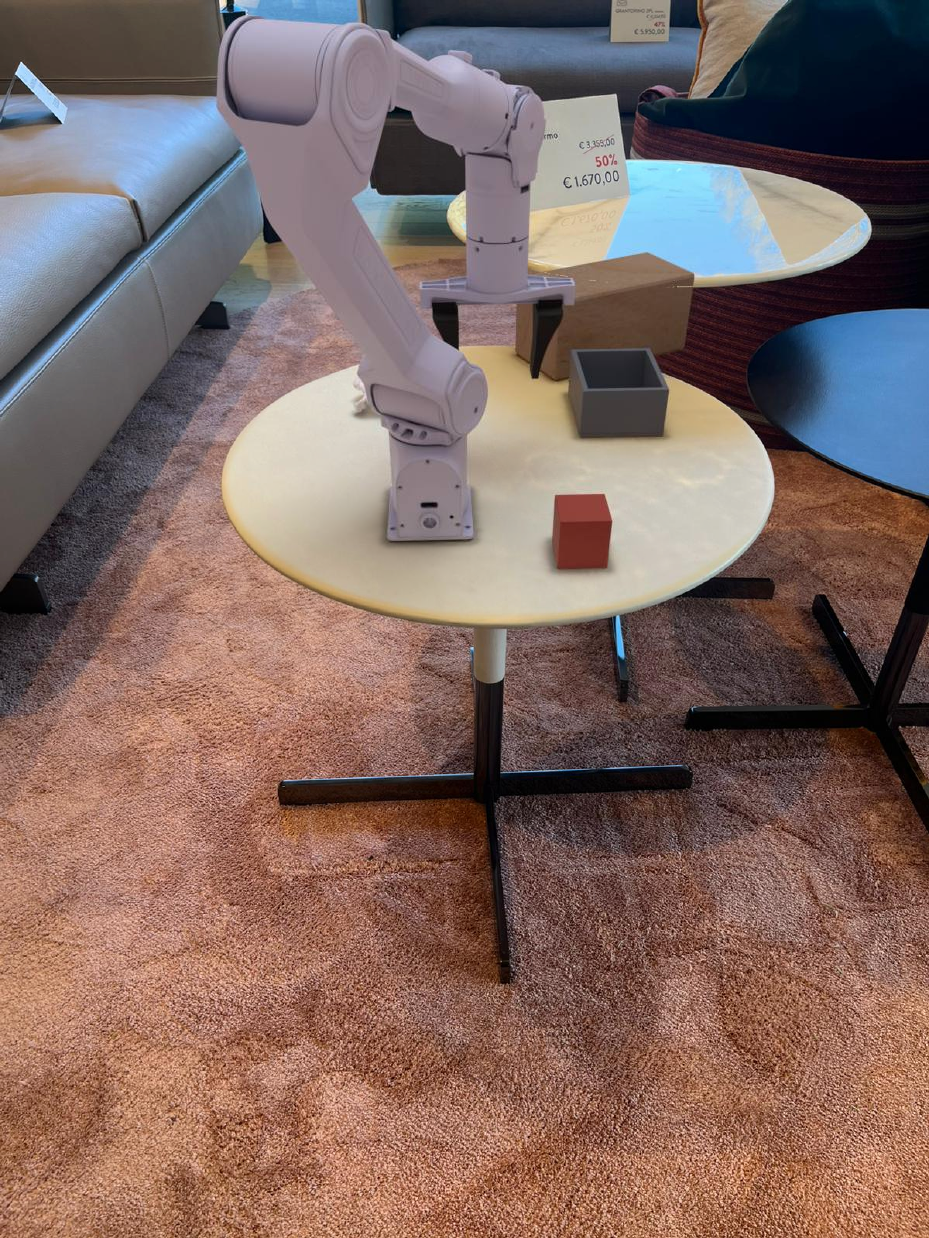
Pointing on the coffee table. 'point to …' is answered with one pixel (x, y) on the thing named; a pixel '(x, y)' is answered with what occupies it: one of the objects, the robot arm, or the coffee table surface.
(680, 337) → the wooden block
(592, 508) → the block
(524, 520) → the coffee table surface
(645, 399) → the tub
